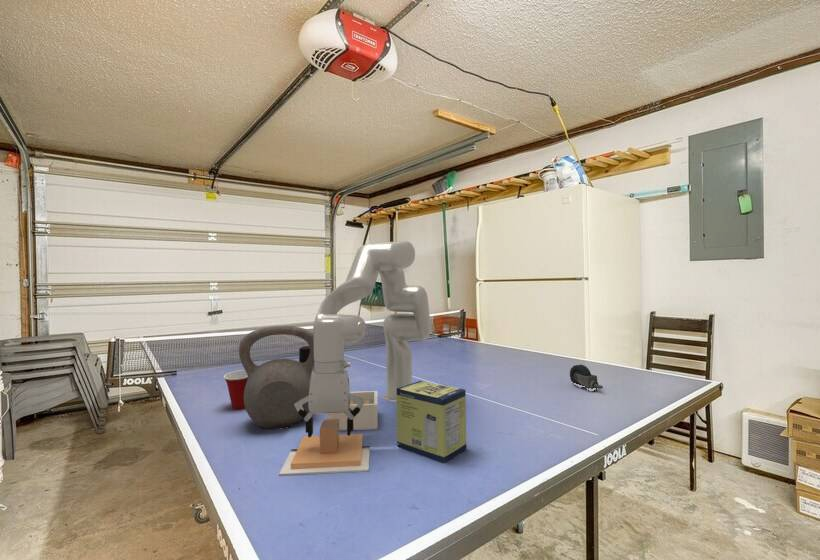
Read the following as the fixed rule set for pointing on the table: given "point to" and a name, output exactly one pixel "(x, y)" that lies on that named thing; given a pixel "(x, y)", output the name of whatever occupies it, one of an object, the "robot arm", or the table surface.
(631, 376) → the table surface
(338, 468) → the mat
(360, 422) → the bin
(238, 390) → the plastic cup
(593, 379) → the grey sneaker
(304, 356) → the spray can
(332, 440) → the lid
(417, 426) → the protein box
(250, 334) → the kettlebell
